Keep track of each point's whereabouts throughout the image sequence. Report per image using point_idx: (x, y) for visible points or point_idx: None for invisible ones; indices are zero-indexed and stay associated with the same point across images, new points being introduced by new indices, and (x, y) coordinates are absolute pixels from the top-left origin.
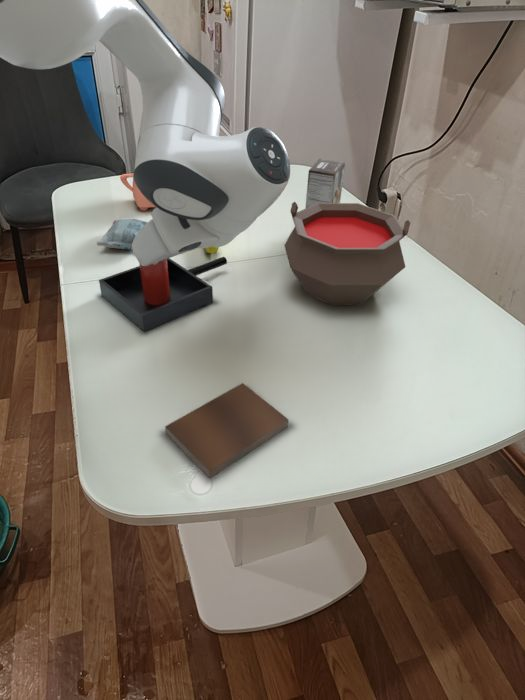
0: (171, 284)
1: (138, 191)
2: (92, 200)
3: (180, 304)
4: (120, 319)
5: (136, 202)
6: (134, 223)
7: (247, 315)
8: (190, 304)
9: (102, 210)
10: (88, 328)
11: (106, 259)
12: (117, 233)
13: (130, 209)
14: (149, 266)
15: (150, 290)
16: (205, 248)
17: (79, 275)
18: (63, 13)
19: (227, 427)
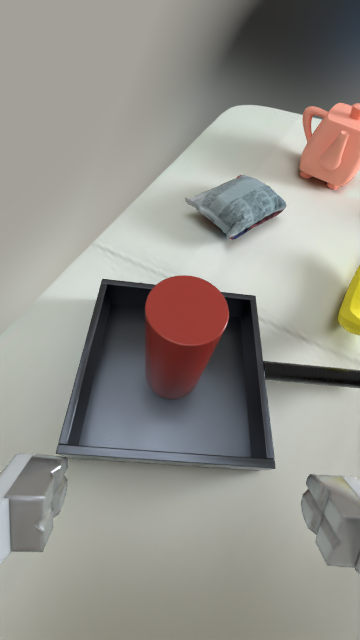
0: (223, 353)
1: (313, 144)
2: (255, 133)
3: (171, 462)
4: (72, 381)
5: (300, 160)
6: (260, 195)
7: (302, 598)
8: (199, 465)
9: (253, 151)
10: (11, 364)
11: (183, 231)
12: (220, 199)
13: (287, 167)
14: (152, 350)
15: (149, 373)
16: (340, 314)
17: (124, 238)
18: None
19: None
